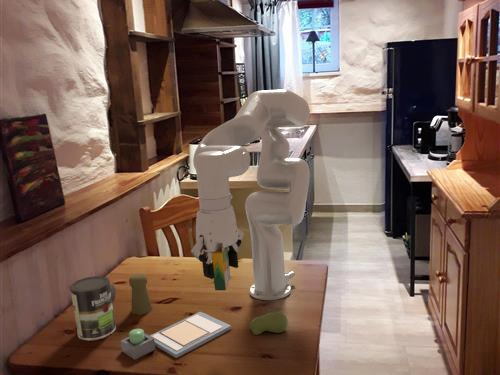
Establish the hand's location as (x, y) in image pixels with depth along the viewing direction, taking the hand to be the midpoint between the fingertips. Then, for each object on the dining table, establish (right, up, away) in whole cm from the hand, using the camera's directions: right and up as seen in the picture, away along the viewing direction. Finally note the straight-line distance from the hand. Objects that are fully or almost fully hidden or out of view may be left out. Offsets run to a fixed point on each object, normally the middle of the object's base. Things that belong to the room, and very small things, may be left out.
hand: (221, 271), depth 125 cm
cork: (-25, -16, +24) cm, 38 cm away
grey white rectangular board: (-9, -18, +8) cm, 22 cm away
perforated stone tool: (-37, -16, +27) cm, 48 cm away
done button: (-21, -19, +2) cm, 28 cm away
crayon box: (0, -3, +1) cm, 4 cm away
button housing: (-21, -20, +2) cm, 29 cm away
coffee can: (-35, -19, +14) cm, 42 cm away
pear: (+12, -17, +7) cm, 22 cm away
